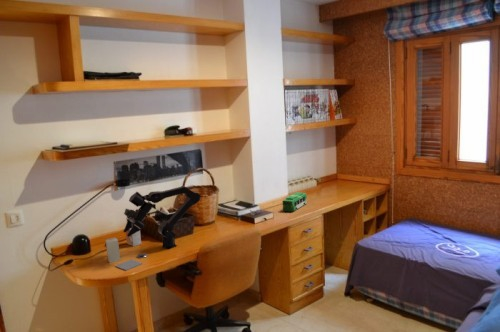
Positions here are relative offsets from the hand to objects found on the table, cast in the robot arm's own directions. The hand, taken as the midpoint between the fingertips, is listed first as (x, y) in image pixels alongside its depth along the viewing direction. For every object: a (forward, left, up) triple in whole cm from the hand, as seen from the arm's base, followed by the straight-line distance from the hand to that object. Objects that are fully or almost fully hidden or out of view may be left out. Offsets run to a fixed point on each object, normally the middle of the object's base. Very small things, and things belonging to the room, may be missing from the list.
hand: (125, 234), depth 225 cm
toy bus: (-129, +28, -14) cm, 132 cm away
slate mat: (+7, +11, -13) cm, 19 cm away
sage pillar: (+7, -3, -13) cm, 15 cm away
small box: (-15, -16, -14) cm, 25 cm away
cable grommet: (-5, +6, -13) cm, 15 cm away
